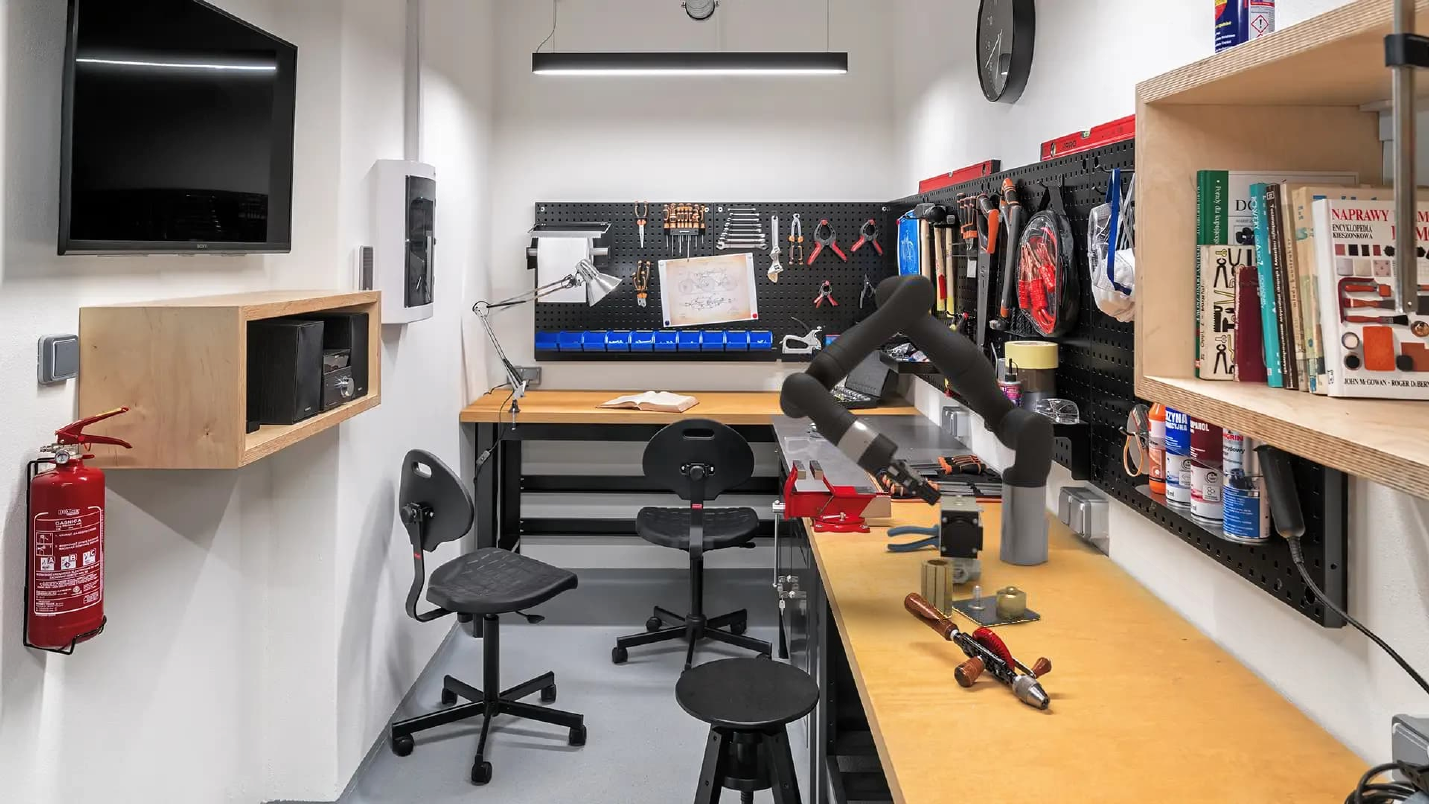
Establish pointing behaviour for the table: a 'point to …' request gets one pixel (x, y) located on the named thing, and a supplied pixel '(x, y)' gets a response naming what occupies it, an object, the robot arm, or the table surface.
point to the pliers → (917, 544)
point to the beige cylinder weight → (1011, 603)
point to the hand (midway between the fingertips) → (937, 500)
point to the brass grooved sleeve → (938, 584)
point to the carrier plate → (986, 609)
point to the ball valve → (961, 535)
